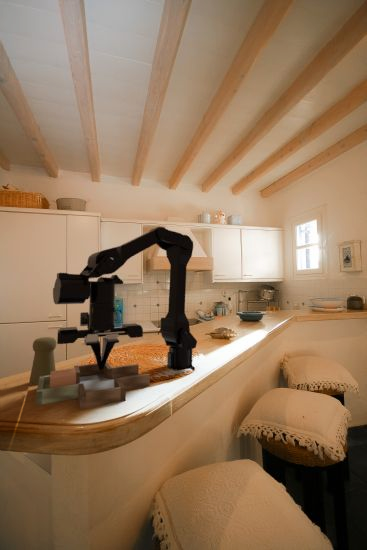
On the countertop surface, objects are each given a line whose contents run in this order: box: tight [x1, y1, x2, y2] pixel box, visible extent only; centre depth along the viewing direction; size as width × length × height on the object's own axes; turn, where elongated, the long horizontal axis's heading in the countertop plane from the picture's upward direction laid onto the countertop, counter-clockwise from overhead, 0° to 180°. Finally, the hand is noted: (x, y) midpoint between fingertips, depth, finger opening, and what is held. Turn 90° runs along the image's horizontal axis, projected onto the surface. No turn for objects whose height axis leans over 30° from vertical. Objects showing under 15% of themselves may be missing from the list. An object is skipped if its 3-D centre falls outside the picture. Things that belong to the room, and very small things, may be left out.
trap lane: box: [35, 361, 151, 410], centre depth 57 cm, size 23×21×3 cm
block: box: [50, 367, 76, 388], centre depth 54 cm, size 5×5×4 cm
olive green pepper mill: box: [28, 336, 57, 387], centre depth 62 cm, size 6×6×11 cm
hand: (100, 369), depth 58 cm, fingers closed
